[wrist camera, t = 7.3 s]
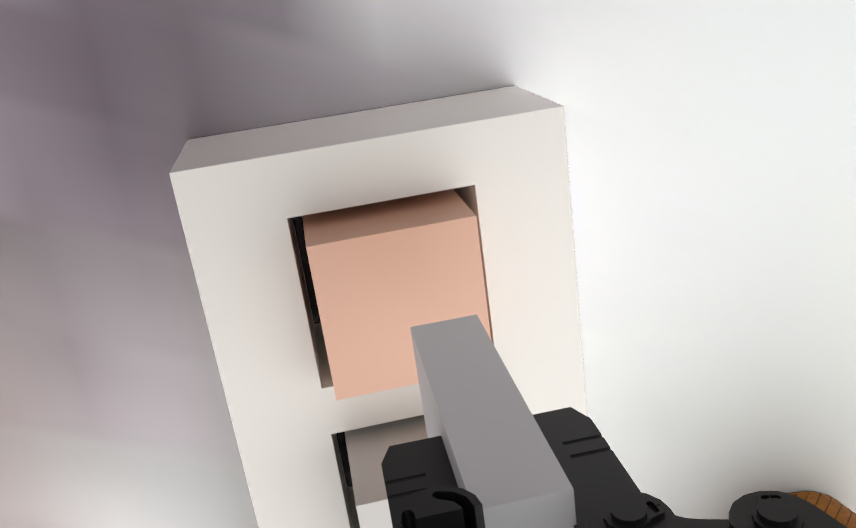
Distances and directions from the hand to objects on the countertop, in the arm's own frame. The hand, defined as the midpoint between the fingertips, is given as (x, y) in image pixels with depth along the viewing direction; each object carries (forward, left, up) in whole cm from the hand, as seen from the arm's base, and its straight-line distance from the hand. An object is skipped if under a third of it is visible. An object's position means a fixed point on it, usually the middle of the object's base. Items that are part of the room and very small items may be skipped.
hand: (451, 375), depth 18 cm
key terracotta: (0, 0, -11) cm, 11 cm away
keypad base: (0, +7, -11) cm, 13 cm away
